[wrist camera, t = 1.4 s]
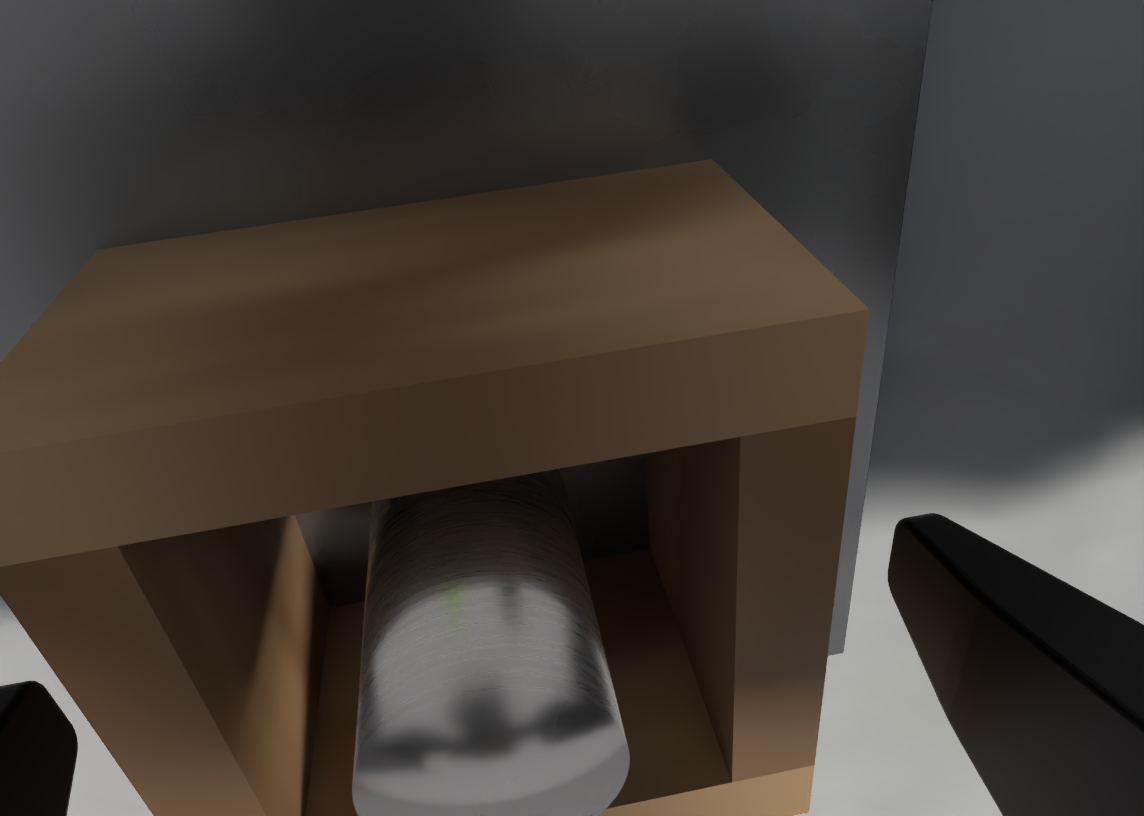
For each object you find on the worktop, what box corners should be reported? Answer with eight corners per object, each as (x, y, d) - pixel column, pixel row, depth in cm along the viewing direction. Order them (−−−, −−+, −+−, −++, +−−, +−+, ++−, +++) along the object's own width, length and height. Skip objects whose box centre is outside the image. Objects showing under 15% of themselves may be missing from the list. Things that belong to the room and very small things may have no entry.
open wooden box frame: (712, 159, 10) (869, 308, 6) (712, 581, 13) (808, 811, 10) (96, 249, 9) (-88, 466, 6) (282, 662, 13) (236, 936, 10)
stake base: (900, -119, 9) (1473, -115, 4) (820, 612, 16) (1005, 947, 11) (-231, 17, 8) (-1210, 235, 3) (191, 735, 15) (79, 1163, 10)
